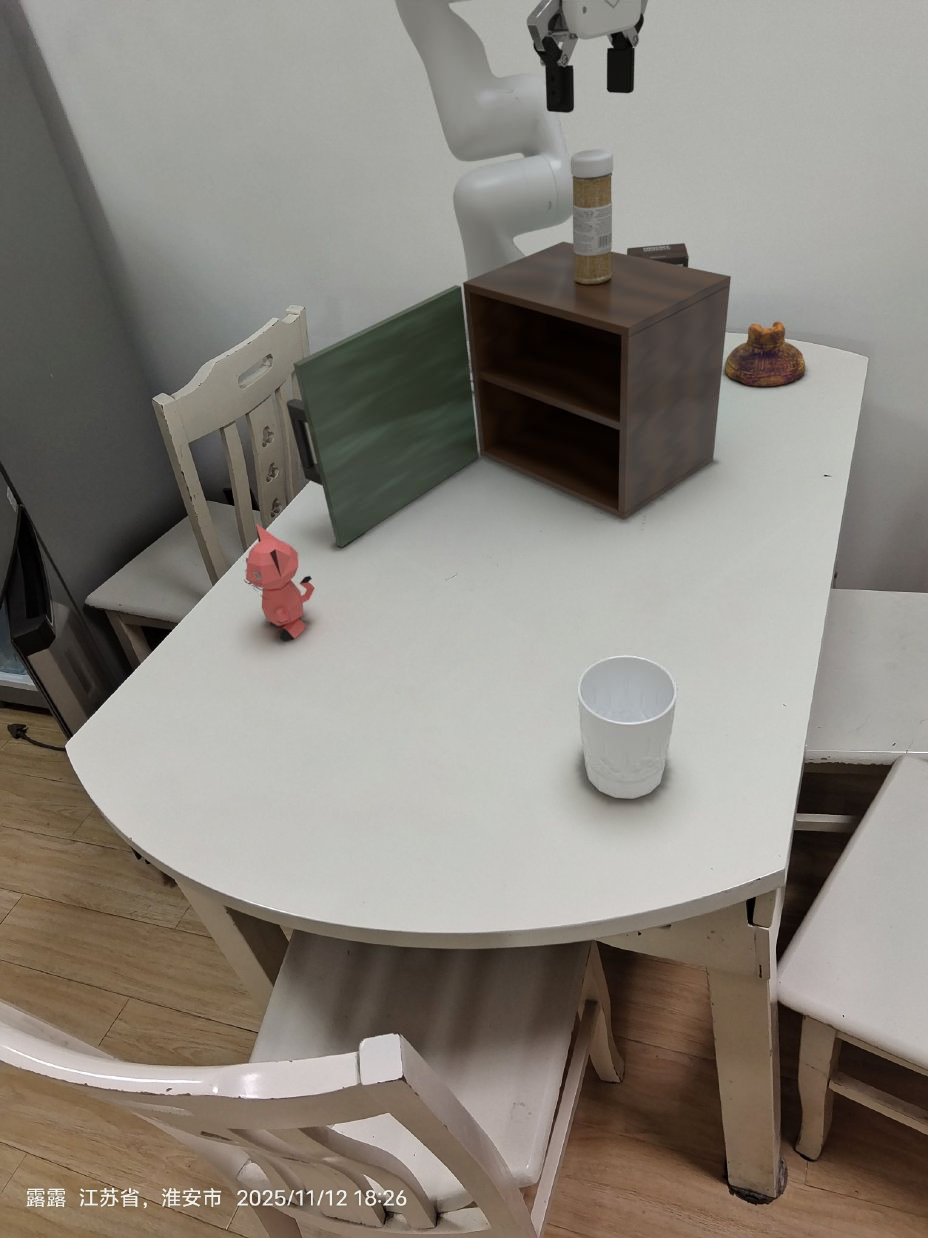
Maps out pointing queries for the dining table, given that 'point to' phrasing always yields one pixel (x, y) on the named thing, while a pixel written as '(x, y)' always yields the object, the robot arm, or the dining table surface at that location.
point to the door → (387, 413)
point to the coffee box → (663, 253)
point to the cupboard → (598, 374)
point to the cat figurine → (278, 583)
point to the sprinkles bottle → (592, 215)
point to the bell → (765, 358)
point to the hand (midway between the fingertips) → (591, 101)
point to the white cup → (626, 723)
